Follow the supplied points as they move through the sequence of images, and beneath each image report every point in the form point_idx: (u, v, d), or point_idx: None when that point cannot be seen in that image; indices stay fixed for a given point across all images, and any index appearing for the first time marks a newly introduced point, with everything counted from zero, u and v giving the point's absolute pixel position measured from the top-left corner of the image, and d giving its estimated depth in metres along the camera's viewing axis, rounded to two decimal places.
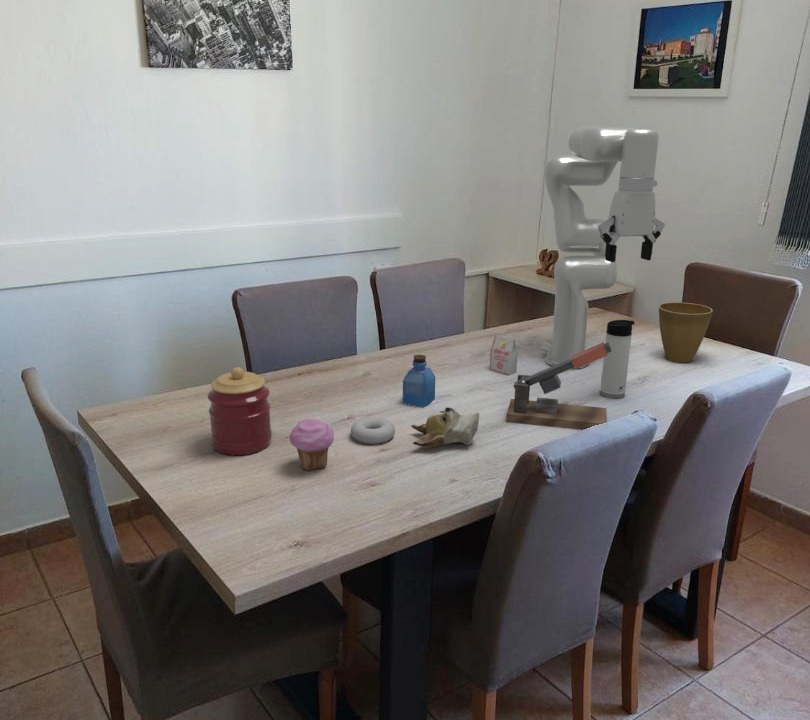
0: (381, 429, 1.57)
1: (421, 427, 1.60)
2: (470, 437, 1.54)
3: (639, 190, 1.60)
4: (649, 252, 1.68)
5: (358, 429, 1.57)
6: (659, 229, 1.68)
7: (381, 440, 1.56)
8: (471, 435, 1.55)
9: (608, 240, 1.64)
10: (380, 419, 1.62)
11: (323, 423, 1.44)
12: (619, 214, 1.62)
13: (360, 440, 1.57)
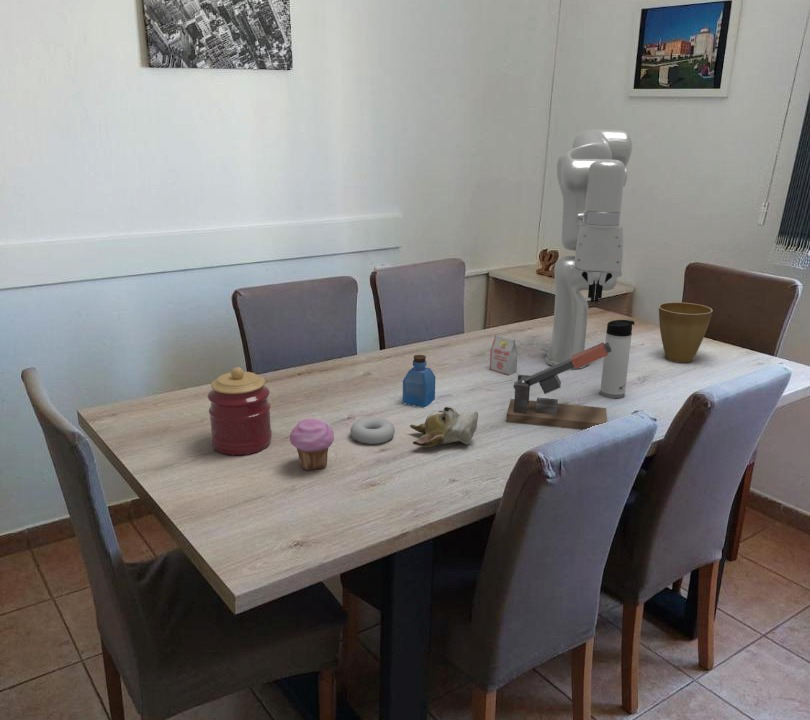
0: (381, 429, 1.57)
1: (420, 427, 1.60)
2: (469, 436, 1.55)
3: None
4: None
5: (358, 429, 1.57)
6: None
7: (381, 440, 1.56)
8: (470, 434, 1.55)
9: None
10: (380, 419, 1.62)
11: (323, 423, 1.44)
12: None
13: (360, 440, 1.57)
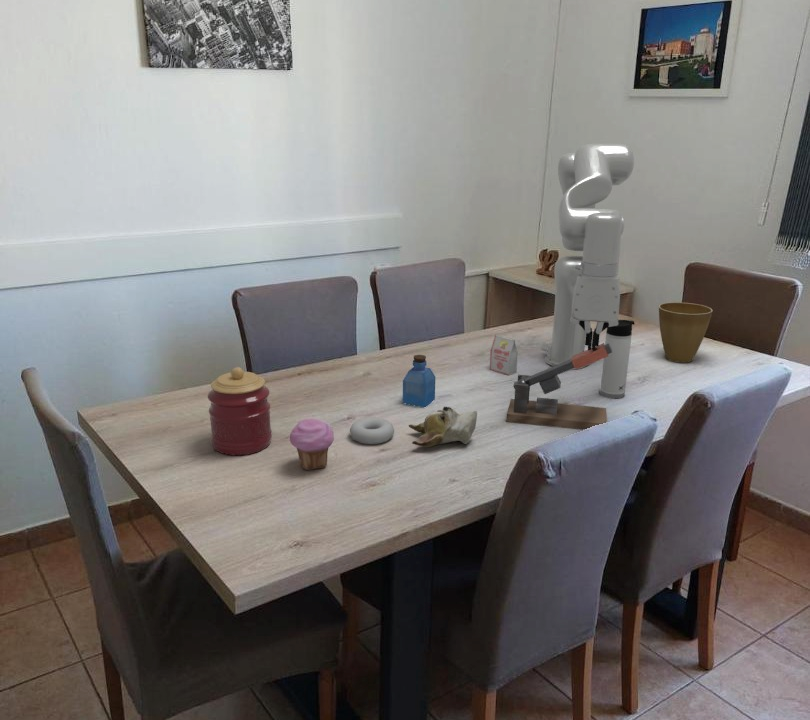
0: (381, 429, 1.57)
1: (419, 427, 1.60)
2: (468, 436, 1.55)
3: None
4: None
5: (357, 429, 1.57)
6: None
7: (381, 440, 1.56)
8: (469, 434, 1.56)
9: None
10: (379, 419, 1.62)
11: (323, 423, 1.44)
12: None
13: (360, 441, 1.57)
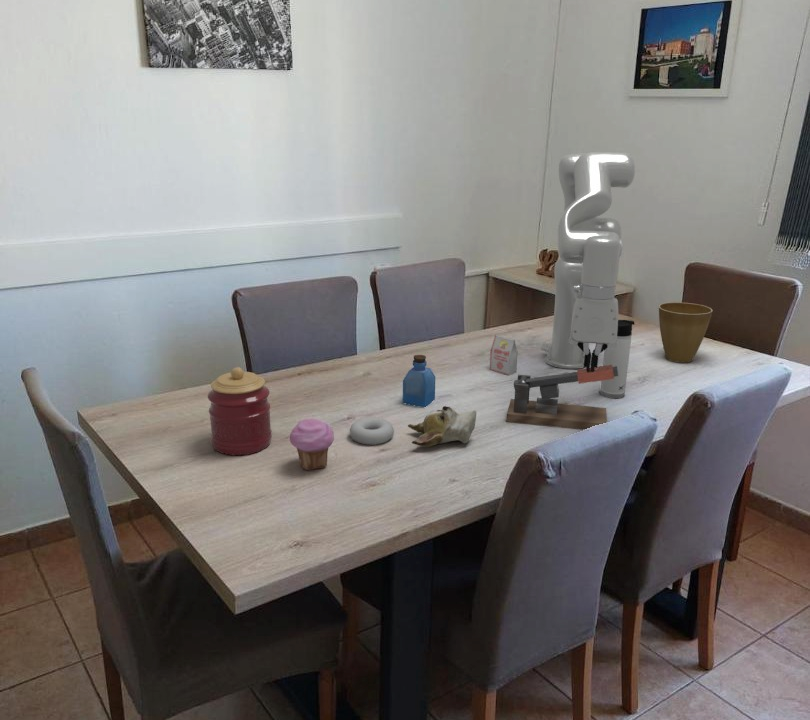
0: (381, 430, 1.57)
1: (418, 426, 1.60)
2: (468, 435, 1.55)
3: None
4: None
5: (357, 430, 1.57)
6: None
7: (381, 441, 1.56)
8: (469, 433, 1.56)
9: None
10: (378, 419, 1.62)
11: (323, 423, 1.44)
12: None
13: (360, 441, 1.56)
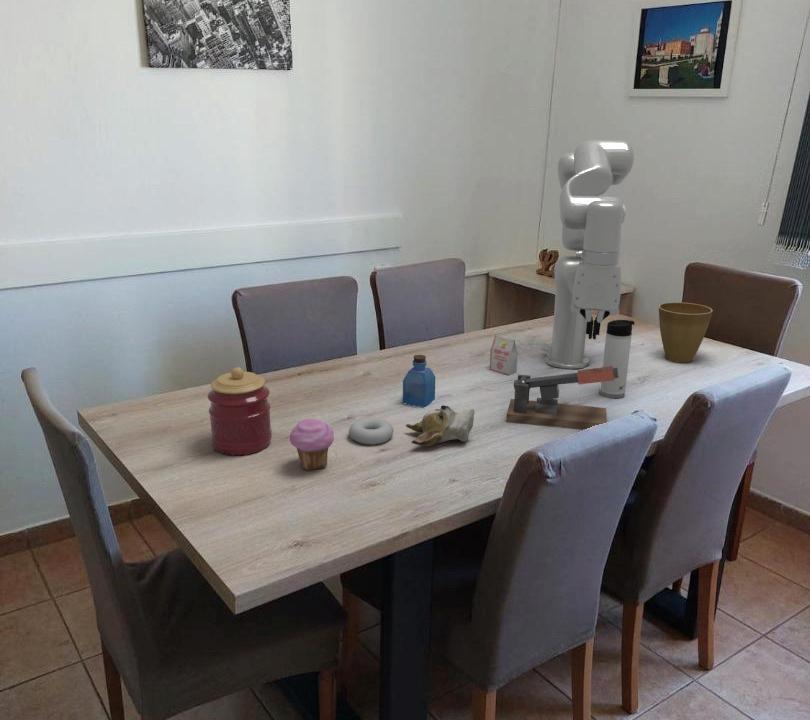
0: (381, 429, 1.57)
1: (416, 426, 1.60)
2: (467, 434, 1.56)
3: None
4: None
5: (357, 430, 1.57)
6: None
7: (381, 440, 1.56)
8: (467, 432, 1.57)
9: None
10: (377, 419, 1.62)
11: (323, 423, 1.44)
12: None
13: (360, 441, 1.56)
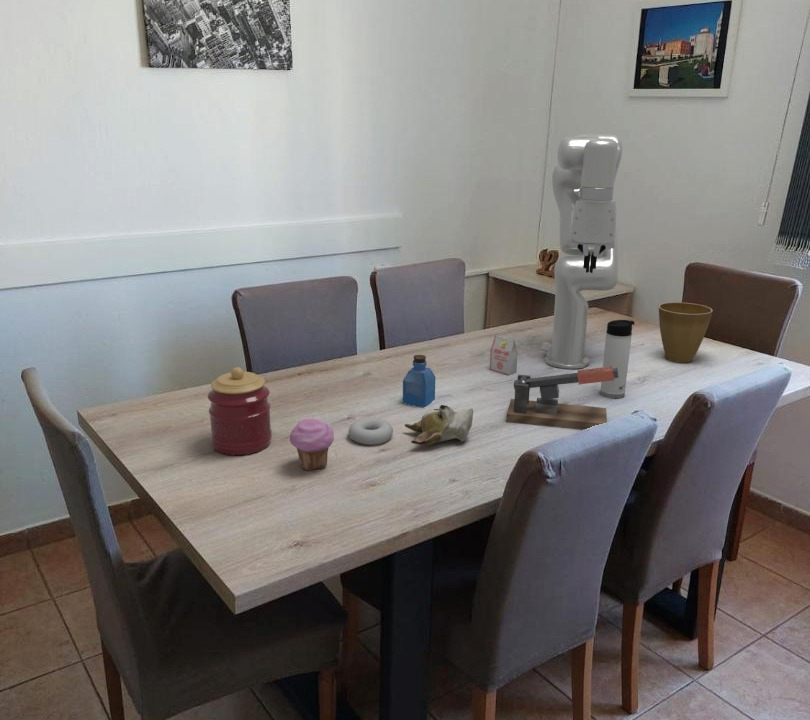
0: (381, 430, 1.57)
1: (415, 426, 1.60)
2: (466, 433, 1.56)
3: None
4: None
5: (357, 430, 1.57)
6: None
7: (381, 441, 1.56)
8: (467, 431, 1.57)
9: None
10: (377, 419, 1.62)
11: (323, 423, 1.44)
12: None
13: (360, 442, 1.56)
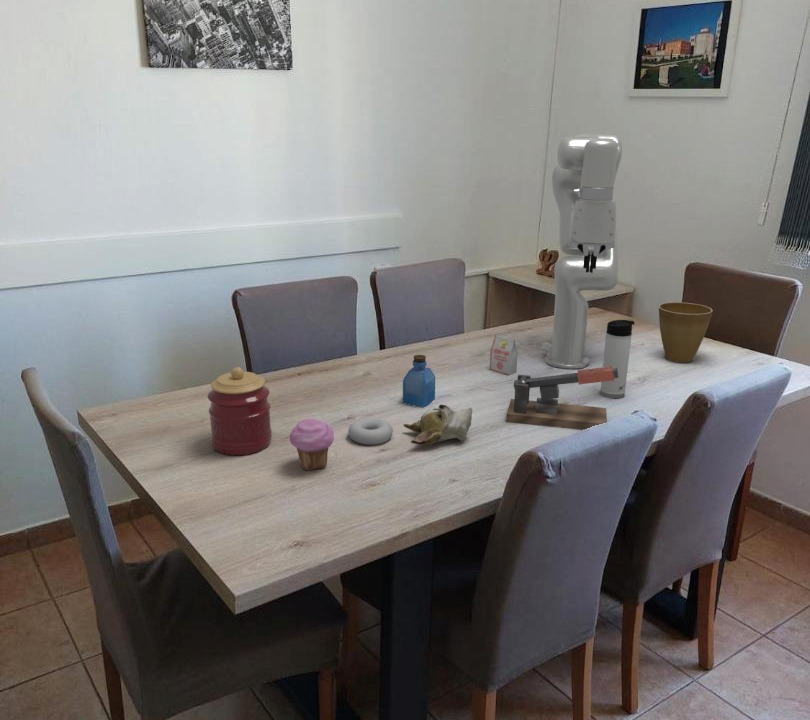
0: (381, 429, 1.57)
1: (414, 426, 1.60)
2: (465, 433, 1.57)
3: None
4: None
5: (357, 430, 1.57)
6: None
7: (381, 440, 1.56)
8: (466, 430, 1.57)
9: None
10: (376, 419, 1.62)
11: (323, 423, 1.44)
12: None
13: (360, 441, 1.56)
